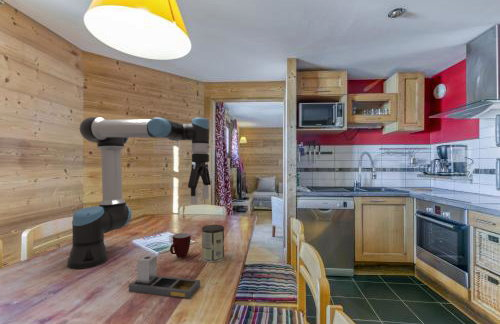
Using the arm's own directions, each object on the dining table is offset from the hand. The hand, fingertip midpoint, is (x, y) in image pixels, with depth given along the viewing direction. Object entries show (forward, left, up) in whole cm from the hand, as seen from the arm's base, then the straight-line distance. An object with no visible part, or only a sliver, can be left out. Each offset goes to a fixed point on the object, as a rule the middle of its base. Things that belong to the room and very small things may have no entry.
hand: (200, 201), depth 111 cm
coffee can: (+4, +6, -27) cm, 28 cm away
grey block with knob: (-9, -25, -26) cm, 38 cm away
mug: (-11, +3, -27) cm, 29 cm away
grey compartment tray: (-2, -25, -27) cm, 37 cm away
